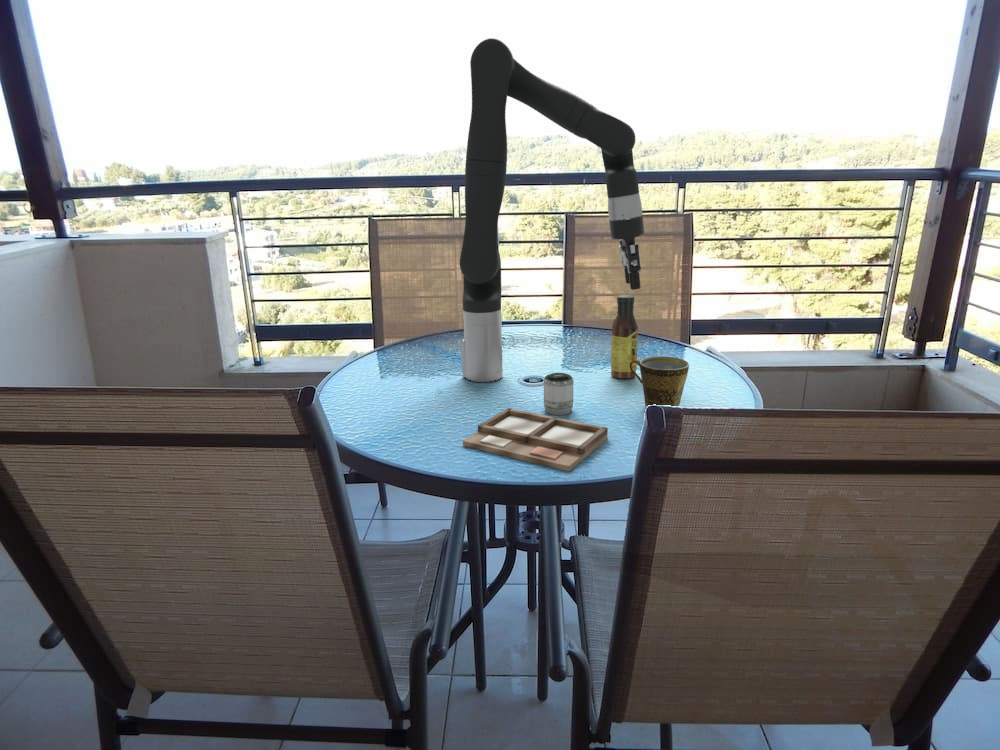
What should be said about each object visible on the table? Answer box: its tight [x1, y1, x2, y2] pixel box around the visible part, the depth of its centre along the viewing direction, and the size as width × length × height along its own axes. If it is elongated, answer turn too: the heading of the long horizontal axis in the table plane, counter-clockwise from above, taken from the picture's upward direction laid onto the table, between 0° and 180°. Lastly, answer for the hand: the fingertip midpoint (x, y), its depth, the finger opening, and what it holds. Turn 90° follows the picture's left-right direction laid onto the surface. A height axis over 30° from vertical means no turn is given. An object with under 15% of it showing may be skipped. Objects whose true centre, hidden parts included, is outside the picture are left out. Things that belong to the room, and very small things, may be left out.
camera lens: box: [543, 372, 575, 416], centre depth 131 cm, size 6×6×8 cm
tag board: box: [462, 407, 609, 473], centre depth 117 cm, size 22×16×2 cm
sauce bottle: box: [610, 294, 639, 380], centre depth 151 cm, size 7×6×20 cm
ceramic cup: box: [630, 355, 690, 407], centre depth 132 cm, size 13×10×10 cm
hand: (633, 286), depth 147 cm, fingers open, 8 cm apart
